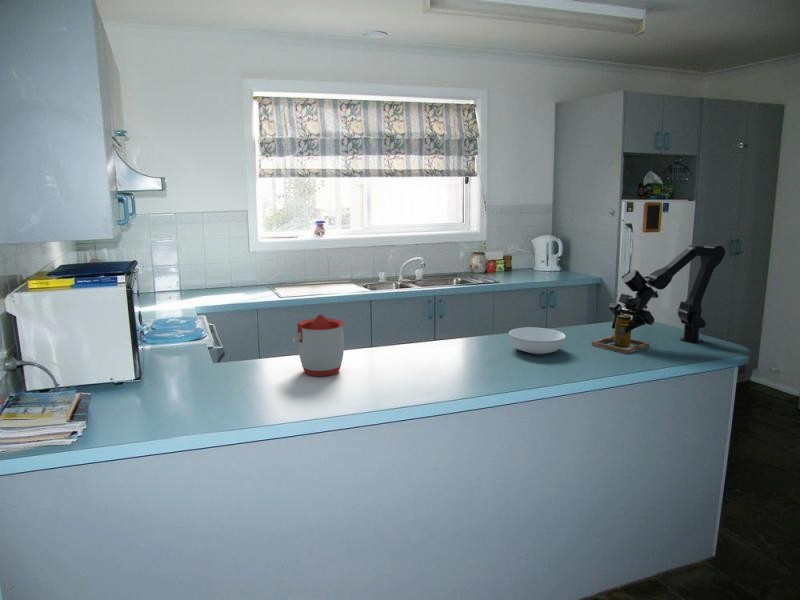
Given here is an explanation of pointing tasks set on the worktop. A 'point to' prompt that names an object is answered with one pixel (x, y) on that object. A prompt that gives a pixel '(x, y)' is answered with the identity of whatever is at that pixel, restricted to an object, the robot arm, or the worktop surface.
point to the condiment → (622, 332)
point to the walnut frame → (600, 344)
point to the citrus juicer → (320, 345)
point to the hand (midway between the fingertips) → (618, 330)
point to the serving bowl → (537, 340)
